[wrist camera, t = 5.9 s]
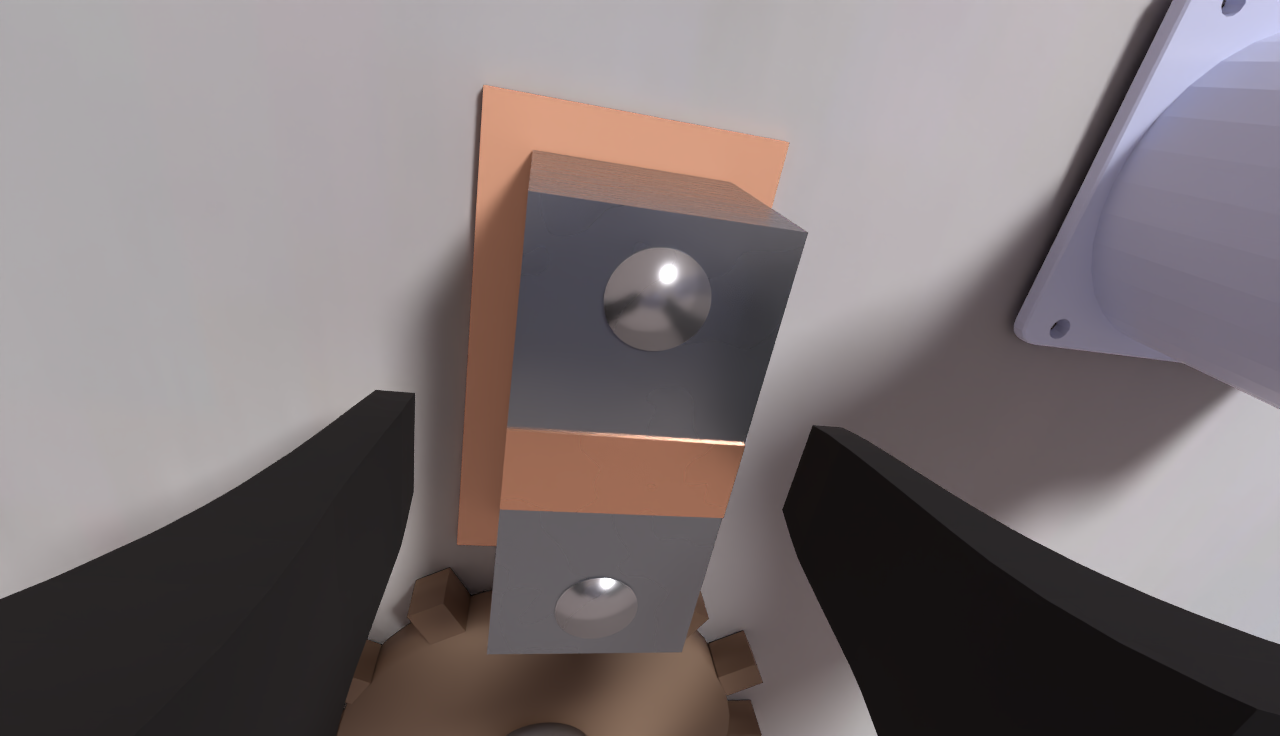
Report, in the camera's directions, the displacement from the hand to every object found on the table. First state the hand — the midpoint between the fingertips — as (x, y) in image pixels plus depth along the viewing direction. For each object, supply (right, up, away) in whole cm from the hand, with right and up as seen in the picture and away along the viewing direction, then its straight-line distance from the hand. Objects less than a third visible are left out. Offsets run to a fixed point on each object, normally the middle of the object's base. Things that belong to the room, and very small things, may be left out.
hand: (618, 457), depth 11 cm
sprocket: (-3, -10, +9) cm, 13 cm away
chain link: (0, +2, +3) cm, 3 cm away
